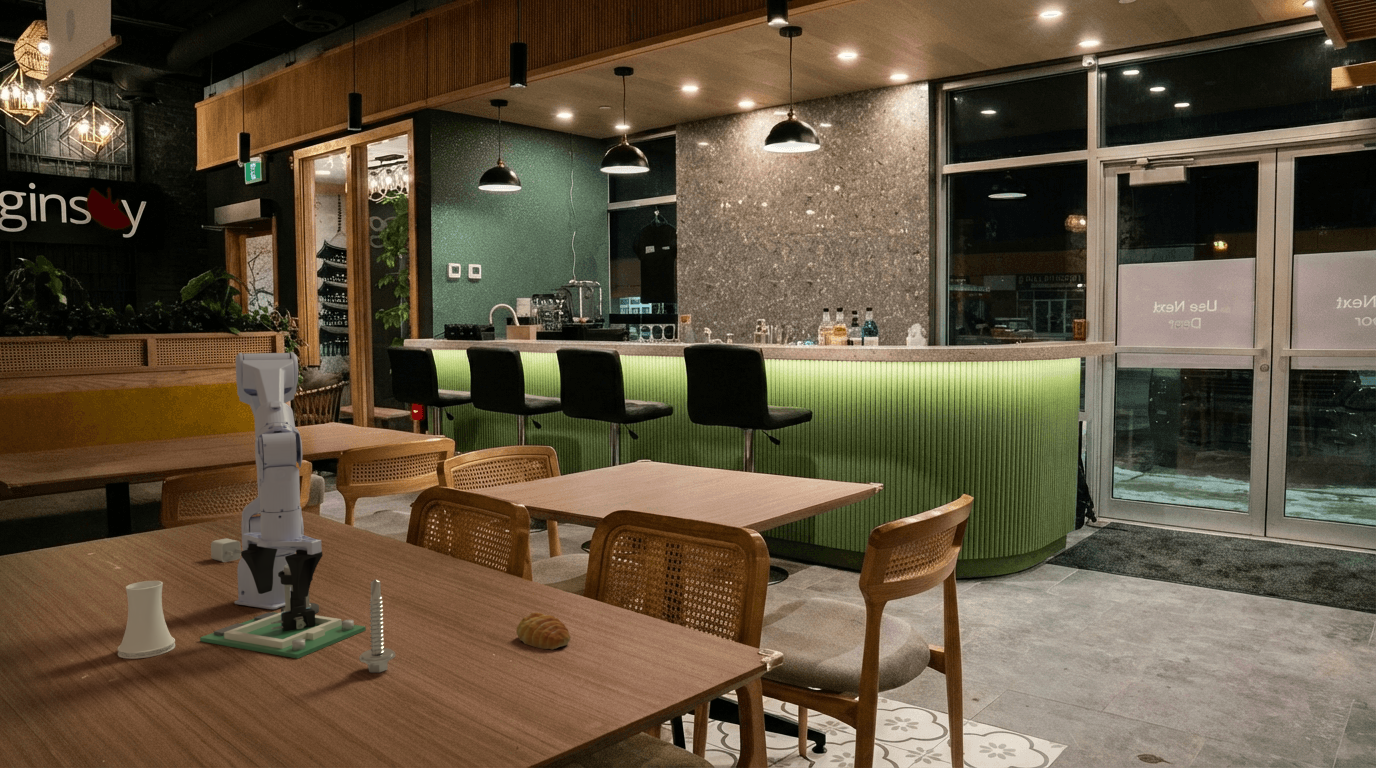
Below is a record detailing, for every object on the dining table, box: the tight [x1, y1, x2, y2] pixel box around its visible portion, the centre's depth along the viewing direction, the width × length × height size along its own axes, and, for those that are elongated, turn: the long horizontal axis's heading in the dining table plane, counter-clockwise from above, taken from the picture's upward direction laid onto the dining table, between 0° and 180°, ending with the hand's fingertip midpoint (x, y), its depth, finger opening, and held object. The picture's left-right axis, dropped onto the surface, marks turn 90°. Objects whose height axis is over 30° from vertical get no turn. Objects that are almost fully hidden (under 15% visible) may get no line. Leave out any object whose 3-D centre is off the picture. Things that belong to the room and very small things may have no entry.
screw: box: [358, 578, 396, 674], centre depth 132 cm, size 13×5×5 cm
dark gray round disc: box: [280, 602, 320, 615], centre depth 159 cm, size 6×6×1 cm
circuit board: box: [199, 611, 367, 659], centre depth 147 cm, size 20×14×2 cm
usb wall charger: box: [210, 538, 243, 563], centre depth 196 cm, size 4×7×4 cm, turn 54°
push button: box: [271, 565, 316, 631], centre depth 149 cm, size 7×5×10 cm
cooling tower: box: [116, 580, 176, 660], centre depth 141 cm, size 8×8×10 cm
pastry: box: [516, 612, 571, 650], centre depth 144 cm, size 9×7×4 cm
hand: (283, 594), depth 147 cm, fingers open, 7 cm apart
